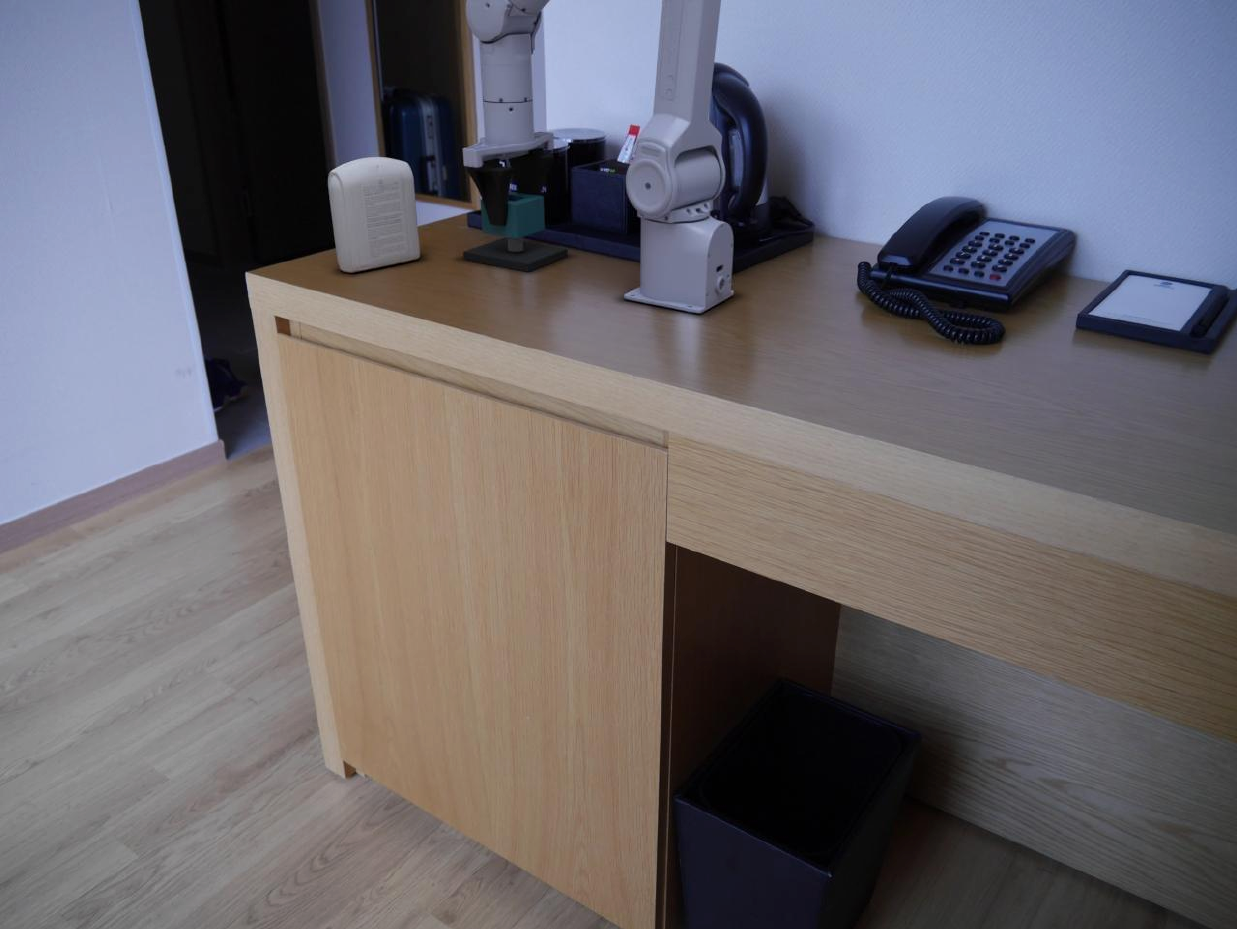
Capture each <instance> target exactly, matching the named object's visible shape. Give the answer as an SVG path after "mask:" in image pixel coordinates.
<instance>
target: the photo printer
mask: <svg viewBox="0 0 1237 929" xmlns="http://www.w3.org/2000/svg"><path fill="white" fill-rule="evenodd" d="M327 187H328V195H329V204H330V213H331V219H332V220H331V221H332V227H333V236H334V243H335V251H336V258H337V264H338V266H339V270H341V271H343V272H345V273H350V274H351V273H356V272H361V271H368V270H371V269H377V268H381V267H386V266H391V265H397V264H400V263H406V262H410V261H416V260H418V259H419V258H420V257H421V248H420V239H419V238H420V237H419V227H418V216H417V214H418V213H417V205H416V204H417V203H416V193H415V181H414V175H413V171H412V169H411V166H410V165H409V163H408V162H406V161H404V160H400V159H396V158H391V157H386V156H385V157H384V156H370V157H369V156H368V157H362V158H357V159H354V160H351V161H348V162H345V163H342V164H341V165H339V166H337V167H335V168H334V169H332V170H330V172H329V173H328V178H327Z"/></svg>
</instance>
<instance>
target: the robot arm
mask: <svg viewBox="0 0 1237 929" xmlns="http://www.w3.org/2000/svg"><path fill="white" fill-rule="evenodd" d="M550 1H551V0H466V1H465V2H466V3H465V16H466V21H467V25H468V27H469V29H470V31H471V33H472V34H473V35H474V37H475V38H477V39H478V43H479V58H480V59H479V60H480V78H481V92H482V93H481V94H482V110H483V123H484V124H483V125H484V136H483V137H480V138H479V142H477V143H475V144H473V145H470V146H468V147H463V148H462V158H463V160H462V161H463V166H464V167H466V173H467V174H468V175H469V177H470V178H471V180H472V182H473V183H474V185H475V187H476V188H477V190H478V193H479V195H480V197H481V199H482V200H483V203H484V206H485V209H486V212H487V215H488V219H489V222H490V224H492V225H498V226H505V225H506V224H507V217H508V194H509V191H510V187H511V182H512V178H513V177H514V182H515V185H516V193H523V194H530V195H537V196H542V193H543V192H542V191H543V188H544V184H545V181H546V178H547V177H548V176H547V175H548V173H549V171H550V169H551V168H552V166H553V164H554V154H553V153H547V152H544V151H552V150H555V139H554V136H555V135H554V133H553V132H550V131H549V132H548V131H535V118H534V115H535V114H534V92H533V90H534V89H533V65H532V56H533V54H534V51H535V50H536V35H537V33H538V31H539V29H540V27H541V23H542V16H543V11H542V10H544V8H545V7H546V6H547V5H548V3H549V2H550ZM721 5H722V0H661V13H660V25H659V36H658V37H659V38H658V49H657V50H658V51H657V63H656V73H655V74H656V76H655V88H654V100H653V111H652V112H653V113H652V116H651V117H650V119H649V121H648V122H647V123H646V125H645V126H644V127H643V129H642V130H641V132H640V133H639V134H638V135H637V137H636V140H635V150H634V155H633V158H632V160H631V162H630V164H629V165H628V168H627V171H626V175H625V189H626V194H627V197H628V199H629V202H630V203H631V205H632V206H633V208H634V209H635V210H636V212H637V213H636V214H637V215H636V217H638V218H640V256H639V257H640V258H639V259H640V260H639V263H640V268H639V271H640V272H639V273H640V274H639V287H637V288H634V289H633V290H629V291H628V292H625V293H623V294H624V295H623V298H624V299H625V300H628V301H634V302H639V303H643V304H649V305H653V306H659V307H664V308H669V309H674V310H678V311H684V312H689V313H694V314H703V313H704V312H706V311H708V310H709V309H711V308H713V307H715V306H716V305H718V304H721V302H724V301H725V300H727V299H728V298H730V297H733V296H734V295H735V291H734V290H733V289H732V277H733V263H734V262H733V261H734V260H733V259H734V233H733V228H732V226H731V225H730V224H729V223H728V222H725V221H722V220H719V219H716V218H714V217H713V216H711V212H712V211H713V210H714V208H713V207H714V200H716V199H717V198H718V197H719V195H721V192H722V191H723V189H724V186H725V182H726V166H725V163H724V160H723V159H724V158H723V156H722V143H723V142H722V141H723V135H722V134H721V132H720V131H719V130H718V129H717V128H716V127H715V125H713V123H712V122H711V121H710V119H709V114H710V106H711V97H712V89H713V88H712V87H713V78H714V71H715V70H714V69H715V60H716V50H717V42H718V31H719V23H720V15H721ZM504 160H508V162H509V164H510V166H504V164H503V163H502V162H501V161H504Z"/></svg>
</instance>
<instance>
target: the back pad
mask: <svg viewBox="0 0 1237 929" xmlns="http://www.w3.org/2000/svg"><path fill="white" fill-rule="evenodd" d="M568 252H569V251H568V248H566V247H559V246H554V245H549V244H542V243H537V242H531V241H530V242H529V241H526V240H523V237H522V238H519V239H516V238H510V237H502V238H499V239H496V240H493V241H490V242H488V243H484V244H480V245H478V246H476V247H473V248H470V249H467V250H463V252H462V255H463V257H462V258H463V260H465V261H471V262H476V263H479V264H485V265H491V266H495V267H502V268H507V269H512V270H517V271H521V272H526V273H529V272H532V271H535V270H537V269H539V268H542V267H544V266H547V265H549V264H552V263H555V262H558V261H560V260H562V259H566V258H567V257H568V255H569V253H568Z"/></svg>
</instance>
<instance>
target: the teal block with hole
mask: <svg viewBox="0 0 1237 929" xmlns="http://www.w3.org/2000/svg"><path fill="white" fill-rule="evenodd" d="M480 211H481V212H480V214H481V215H480V216H481V228H482V229H481V230H482V234H487V235H493V236H499V237H503V238H508V237H510V238H516V239H519V238H522V239H523V238H524V237H527V236H529V235H533V234H535V233H538V232H542V231H545V230H546V226H545V225H546V222H545V197H544V196H543V195H541V196H537V195H530V194H523V193H517V191H510V190H509V194H508V217H507V224H506V225H505V226H498V225H492V224H490V222H489V219H488V215H487V212H486V209H485V206H484V203H483V200H482V198H481V199H480Z"/></svg>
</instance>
